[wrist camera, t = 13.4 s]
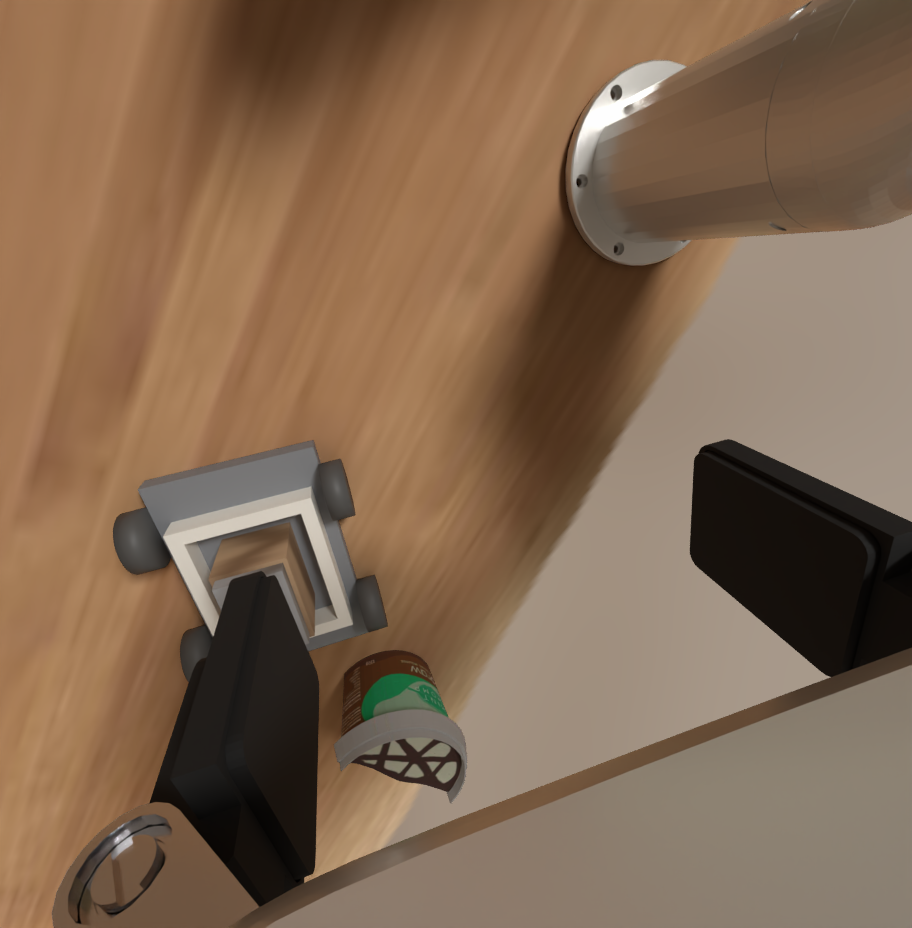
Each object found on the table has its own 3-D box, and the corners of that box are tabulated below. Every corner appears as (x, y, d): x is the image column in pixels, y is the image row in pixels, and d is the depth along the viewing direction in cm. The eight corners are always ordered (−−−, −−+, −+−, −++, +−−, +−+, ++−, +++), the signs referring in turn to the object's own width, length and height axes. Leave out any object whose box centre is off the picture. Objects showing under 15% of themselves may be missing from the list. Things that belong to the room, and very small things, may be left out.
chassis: (334, 434, 37) (336, 455, 33) (386, 614, 44) (393, 649, 40) (120, 486, 34) (94, 515, 30) (214, 668, 42) (204, 710, 38)
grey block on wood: (289, 521, 37) (285, 566, 31) (315, 593, 40) (314, 645, 34) (221, 539, 36) (205, 588, 30) (252, 611, 39) (242, 667, 33)
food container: (468, 667, 49) (501, 756, 40) (431, 708, 50) (455, 805, 41) (370, 621, 44) (384, 712, 35) (331, 668, 45) (334, 769, 36)
